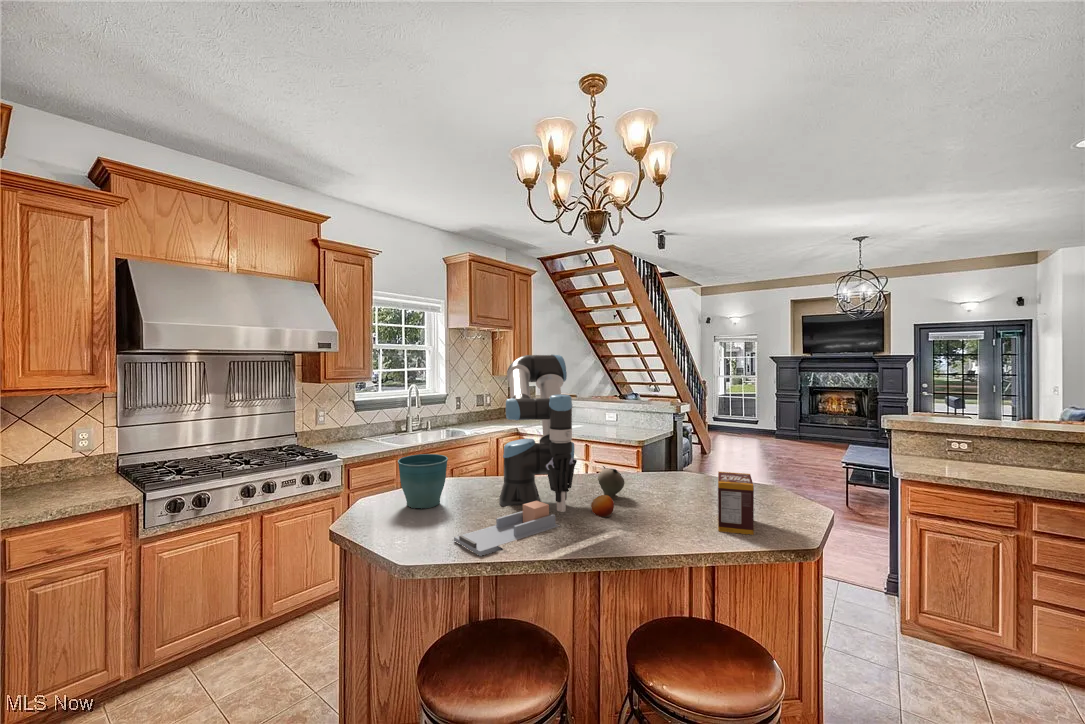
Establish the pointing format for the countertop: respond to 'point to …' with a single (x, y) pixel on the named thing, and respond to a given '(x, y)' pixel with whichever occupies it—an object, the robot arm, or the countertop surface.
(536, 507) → the block
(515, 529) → the chute
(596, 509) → the fruit
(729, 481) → the supplement box
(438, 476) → the flower pot
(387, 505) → the countertop surface
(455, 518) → the countertop surface
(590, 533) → the countertop surface
